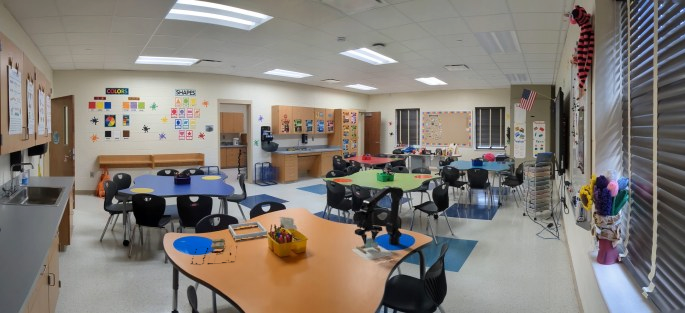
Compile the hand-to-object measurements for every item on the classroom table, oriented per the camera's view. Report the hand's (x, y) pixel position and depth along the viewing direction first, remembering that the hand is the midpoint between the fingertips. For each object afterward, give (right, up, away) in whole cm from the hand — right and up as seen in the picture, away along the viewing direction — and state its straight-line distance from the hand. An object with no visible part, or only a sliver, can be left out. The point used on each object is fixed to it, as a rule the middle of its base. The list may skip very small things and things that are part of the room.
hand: (368, 243), depth 236 cm
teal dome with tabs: (+1, -2, -1) cm, 3 cm away
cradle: (0, -4, +1) cm, 5 cm away
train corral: (-91, -3, +43) cm, 100 cm away
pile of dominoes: (-100, -8, -2) cm, 100 cm away
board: (+2, -6, -4) cm, 7 cm away
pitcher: (-57, -4, +32) cm, 65 cm away
